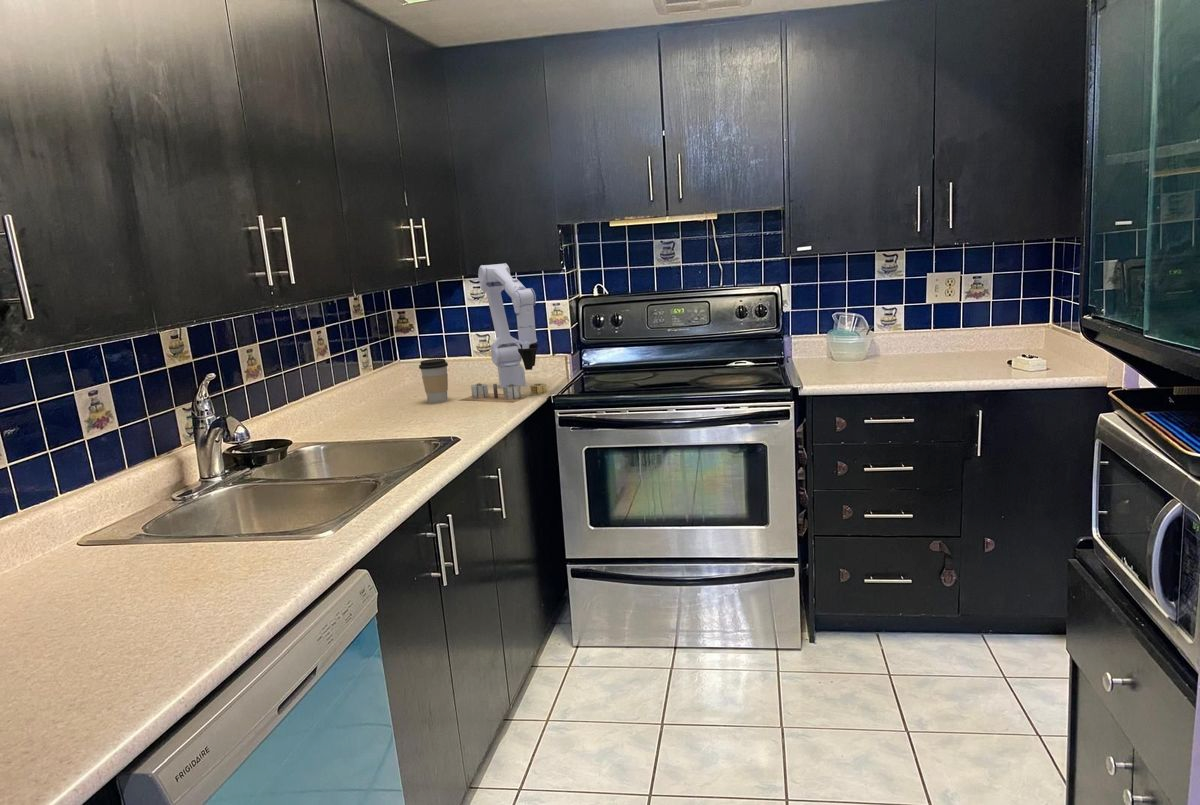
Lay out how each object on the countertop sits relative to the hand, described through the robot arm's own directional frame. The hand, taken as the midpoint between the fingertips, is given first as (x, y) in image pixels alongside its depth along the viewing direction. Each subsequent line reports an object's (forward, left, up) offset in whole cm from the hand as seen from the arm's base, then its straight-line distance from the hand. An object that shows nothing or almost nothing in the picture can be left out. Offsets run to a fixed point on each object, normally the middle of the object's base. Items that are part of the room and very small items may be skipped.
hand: (530, 367), depth 267 cm
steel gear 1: (+8, -15, -8) cm, 19 cm away
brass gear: (-2, +1, -10) cm, 10 cm away
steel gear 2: (+8, -2, -8) cm, 12 cm away
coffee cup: (+16, -27, -10) cm, 33 cm away
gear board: (+8, -9, -10) cm, 16 cm away
